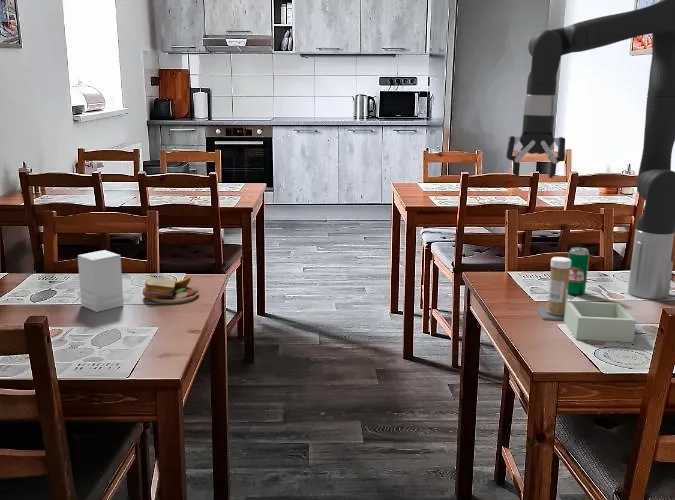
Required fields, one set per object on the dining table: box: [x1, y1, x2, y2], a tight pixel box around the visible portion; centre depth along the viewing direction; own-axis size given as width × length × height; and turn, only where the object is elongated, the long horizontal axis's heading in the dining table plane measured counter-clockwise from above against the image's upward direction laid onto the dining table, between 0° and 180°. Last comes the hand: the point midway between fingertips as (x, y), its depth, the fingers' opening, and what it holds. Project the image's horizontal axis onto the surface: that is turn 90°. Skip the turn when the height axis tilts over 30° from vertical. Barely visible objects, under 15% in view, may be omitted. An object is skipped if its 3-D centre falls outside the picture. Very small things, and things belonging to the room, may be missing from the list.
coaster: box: [536, 307, 564, 322], centre depth 166 cm, size 8×8×1 cm
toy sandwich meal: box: [142, 276, 200, 305], centre depth 174 cm, size 12×14×5 cm
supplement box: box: [77, 249, 124, 313], centre depth 165 cm, size 7×7×13 cm
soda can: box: [567, 246, 590, 296], centre depth 183 cm, size 5×5×12 cm
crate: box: [563, 300, 637, 343], centre depth 155 cm, size 12×12×5 cm
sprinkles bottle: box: [546, 256, 571, 316], centre depth 165 cm, size 5×5×13 cm
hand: (533, 177), depth 180 cm, fingers open, 8 cm apart
